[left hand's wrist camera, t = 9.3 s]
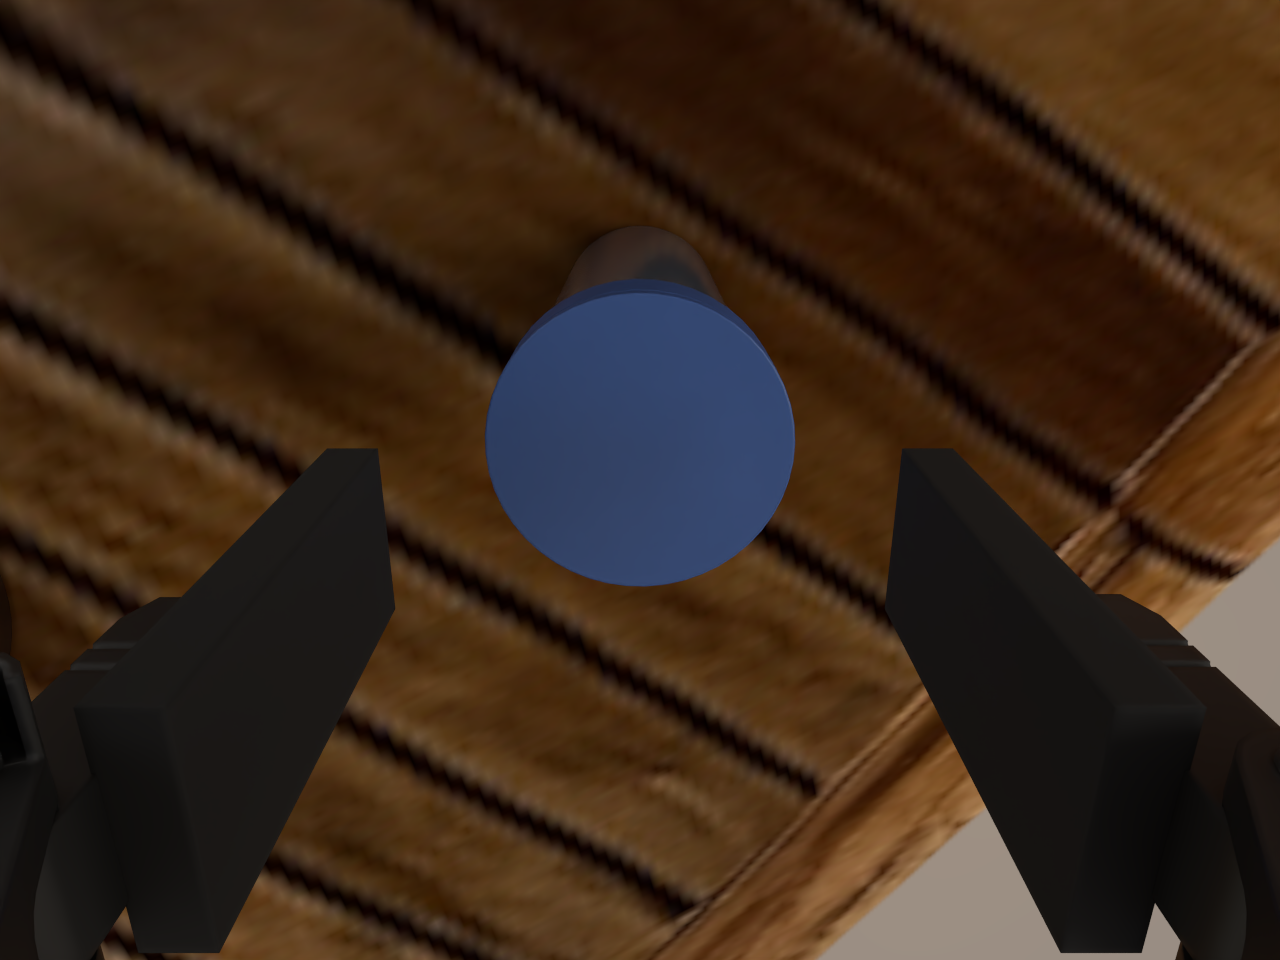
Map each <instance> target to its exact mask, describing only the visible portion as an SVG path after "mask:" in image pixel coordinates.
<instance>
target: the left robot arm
mask: <svg viewBox="0 0 1280 960" xmlns="http://www.w3.org/2000/svg"><path fill="white" fill-rule="evenodd" d="M394 610H395V602H394V593H393V584H392V575H391V566H390V557H389V548H388V539H387V529H386V520H385V511H384V502H383V493H382V484H381V475H380V466H379V457H378V449H326V450H325V451H324V452H323V453H322V454H321V455H320V456H319V458H318V459H317V460H316V461H315V462H314V463H313V464H312V465H311V466H310V467H309V468H308V469H307V470H306V471H305V472H304V473H303V474H302V475H301V476H300V477H299V478H298V479H297V480H296V481H295V482H294V483H293V484H292V485H291V486H290V487H289V488H288V489H287V490H286V491H285V492H284V493H283V494H282V495H281V496H280V497H279V498H278V499H277V500H276V501H275V502H274V503H273V504H272V505H271V506H270V507H269V509H268V510H267V511H266V512H265V513H264V514H263V515H262V516H261V517H260V518H259V519H258V520H257V521H256V522H255V523H254V524H253V525H252V526H251V527H250V528H249V529H248V530H247V531H246V532H245V533H244V534H243V535H242V536H241V537H240V538H239V539H238V540H237V541H236V542H235V543H234V544H233V545H232V546H231V547H230V548H229V549H228V550H227V551H226V552H225V553H224V554H223V555H222V556H221V557H220V558H219V560H218V561H217V562H216V563H215V564H214V565H213V566H212V567H211V568H210V569H209V570H208V571H207V572H206V573H205V574H204V575H203V576H202V577H201V578H200V579H199V580H198V581H197V582H196V583H195V584H194V585H193V586H192V587H191V588H190V589H189V590H188V591H187V592H186V593H185V594H184V595H183V596H182V597H159V598H158V599H156V600H154V601H152V602H150V603H148V604H146V605H145V606H143V607H141V608H139V609H137V610H135V611H133V612H132V613H130V614H128V615H126V616H124V617H122V618H120V619H119V620H118V621H117V622H116V623H115V624H114V625H113V626H112V627H111V628H110V629H108V630H107V631H106V632H105V633H104V634H103V635H102V636H101V637H100V638H99V639H98V640H97V641H96V642H95V643H94V644H93V649H87V650H86V651H85V652H84V653H83V654H82V655H81V656H80V657H79V658H78V659H77V660H75V661H74V662H73V663H72V664H71V669H70V670H65V671H64V672H63V673H62V674H61V675H60V676H58V677H57V678H56V679H55V680H54V681H53V682H52V683H51V684H50V685H49V686H48V687H47V688H46V689H45V690H44V691H43V692H41V693H40V694H39V695H38V696H37V697H36V698H35V699H34V700H33V701H32V702H31V699H30V696H29V692H28V689H27V685H26V682H25V678H24V675H23V671H22V668H21V664H20V661H18V660H16V659H15V658H13V657H11V656H10V650H11V638H12V626H11V614H10V608H9V602H8V598H7V594H6V590H5V587H4V584H3V581H2V578H1V576H0V960H105V959H104V956H103V952H102V949H101V945H100V944H101V943H102V941H103V940H104V938H105V937H106V935H107V934H108V932H109V931H110V929H111V928H112V926H113V925H114V923H115V922H116V920H117V919H118V917H119V916H120V914H121V913H122V911H123V910H124V908H125V907H126V908H127V912H128V916H129V919H130V923H131V927H132V931H133V934H134V938H135V942H136V946H137V949H138V953H219V952H220V950H221V949H222V947H223V945H224V943H225V941H226V939H227V937H228V935H229V933H230V931H231V929H232V927H233V925H234V923H235V921H236V919H237V917H238V915H239V913H240V911H241V909H242V907H243V905H244V904H245V902H246V900H247V898H248V896H249V894H250V892H251V890H252V888H253V886H254V884H255V882H256V880H257V878H258V876H259V874H260V872H261V870H262V868H263V866H264V864H265V862H266V860H267V859H268V857H269V855H270V853H271V851H272V849H273V847H274V845H275V843H276V841H277V839H278V837H279V835H280V833H281V831H282V829H283V827H284V825H285V823H286V821H287V819H288V817H289V815H290V813H291V812H292V810H293V808H294V806H295V804H296V802H297V800H298V798H299V796H300V794H301V792H302V790H303V788H304V786H305V784H306V782H307V780H308V778H309V776H310V774H311V772H312V770H313V768H314V767H315V765H316V763H317V761H318V759H319V757H320V755H321V753H322V751H323V749H324V747H325V745H326V743H327V741H328V739H329V737H330V735H331V733H332V731H333V729H334V727H335V725H336V723H337V722H338V720H339V718H340V716H341V714H342V712H343V710H344V708H345V706H346V704H347V702H348V700H349V698H350V696H351V694H352V692H353V690H354V688H355V686H356V684H357V682H358V680H359V678H360V677H361V675H362V673H363V671H364V669H365V667H366V665H367V663H368V661H369V659H370V657H371V655H372V653H373V651H374V649H375V647H376V645H377V643H378V641H379V639H380V637H381V635H382V633H383V632H384V630H385V628H386V626H387V624H388V622H389V620H390V618H391V616H392V614H393V612H394ZM885 610H886V612H887V614H888V616H889V618H890V620H891V622H892V624H893V626H894V628H895V630H896V632H897V633H898V635H899V637H900V639H901V641H902V643H903V645H904V647H905V649H906V651H907V653H908V655H909V657H910V659H911V661H912V663H913V665H914V667H915V669H916V671H917V673H918V675H919V677H920V678H921V680H922V682H923V684H924V686H925V688H926V690H927V692H928V694H929V696H930V698H931V700H932V702H933V704H934V706H935V708H936V710H937V712H938V714H939V716H940V718H941V720H942V722H943V723H944V725H945V727H946V729H947V731H948V733H949V735H950V737H951V739H952V741H953V743H954V745H955V747H956V749H957V751H958V753H959V755H960V757H961V759H962V761H963V763H964V765H965V767H966V768H967V770H968V772H969V774H970V776H971V778H972V780H973V782H974V784H975V786H976V788H977V790H978V792H979V794H980V796H981V798H982V800H983V802H984V804H985V806H986V808H987V810H988V812H989V813H990V815H991V817H992V819H993V821H994V823H995V825H996V827H997V829H998V831H999V833H1000V835H1001V837H1002V839H1003V841H1004V843H1005V845H1006V847H1007V849H1008V851H1009V853H1010V855H1011V857H1012V859H1013V860H1014V862H1015V864H1016V866H1017V868H1018V870H1019V872H1020V874H1021V876H1022V878H1023V880H1024V882H1025V884H1026V886H1027V888H1028V890H1029V892H1030V894H1031V896H1032V898H1033V900H1034V901H1035V904H1036V905H1037V907H1038V909H1039V911H1040V913H1041V915H1042V917H1043V919H1044V921H1045V923H1046V925H1047V927H1048V929H1049V931H1050V933H1051V935H1052V937H1053V939H1054V941H1055V943H1056V945H1057V947H1058V948H1059V950H1060V952H1061V953H1142V949H1143V946H1144V942H1145V938H1146V934H1147V930H1148V927H1149V923H1150V919H1151V916H1152V912H1153V908H1154V904H1155V903H1156V905H1157V906H1158V908H1159V909H1160V911H1161V912H1162V914H1163V915H1164V917H1165V918H1166V920H1167V921H1168V923H1169V924H1170V926H1171V927H1172V929H1173V930H1174V932H1175V933H1176V935H1177V936H1178V938H1179V939H1180V941H1181V942H1180V945H1179V949H1178V952H1177V956H1176V959H1175V960H1280V726H1279V725H1278V724H1277V723H1275V722H1274V721H1273V720H1272V719H1271V718H1270V717H1269V716H1268V715H1267V714H1266V713H1265V712H1264V711H1263V710H1261V709H1260V708H1259V707H1258V706H1257V705H1256V704H1255V703H1254V702H1253V701H1252V700H1251V699H1250V698H1249V697H1247V696H1246V695H1245V694H1244V693H1243V692H1242V691H1241V690H1240V689H1239V688H1238V687H1237V686H1236V685H1235V684H1234V683H1232V682H1231V681H1230V680H1229V679H1228V678H1227V677H1226V676H1225V675H1224V674H1223V673H1222V672H1221V671H1220V670H1219V669H1218V668H1216V667H1211V666H1210V661H1209V660H1208V659H1207V658H1206V657H1205V656H1204V655H1203V654H1201V653H1200V652H1199V651H1198V650H1197V649H1196V648H1195V647H1194V646H1188V641H1187V640H1186V639H1185V638H1184V637H1183V636H1182V635H1181V634H1180V633H1179V632H1178V631H1177V630H1176V629H1175V628H1174V627H1173V626H1171V625H1170V624H1169V623H1168V622H1167V621H1166V620H1165V619H1164V618H1163V617H1162V616H1161V615H1159V614H1157V613H1155V612H1153V611H1151V610H1149V609H1148V608H1146V607H1144V606H1142V605H1140V604H1138V603H1136V602H1134V601H1133V600H1131V599H1129V598H1127V597H1125V596H1123V595H1121V594H1095V593H1094V592H1093V591H1092V590H1091V589H1090V588H1089V587H1088V586H1087V585H1086V584H1085V583H1084V582H1083V581H1082V580H1081V579H1080V578H1079V577H1078V576H1077V575H1076V574H1075V573H1074V572H1073V571H1072V570H1071V569H1070V568H1069V567H1068V566H1067V565H1066V564H1065V563H1064V562H1063V561H1062V560H1061V558H1060V557H1059V556H1058V555H1057V554H1056V553H1055V552H1054V551H1053V550H1052V549H1051V548H1050V547H1049V546H1048V545H1047V544H1046V543H1045V542H1044V541H1043V540H1042V539H1041V538H1040V537H1039V536H1038V535H1037V534H1036V533H1035V532H1034V531H1033V530H1032V529H1031V528H1030V527H1029V526H1028V525H1027V524H1026V523H1025V522H1024V521H1023V520H1022V519H1021V518H1020V517H1019V516H1018V515H1017V514H1016V513H1015V512H1014V511H1013V510H1012V509H1011V507H1010V506H1009V505H1008V504H1007V503H1006V502H1005V501H1004V500H1003V499H1002V498H1001V497H1000V496H999V495H998V494H997V493H996V492H995V491H994V490H993V489H992V488H991V487H990V486H989V485H988V484H987V483H986V482H985V481H984V480H983V479H982V478H981V477H980V476H979V475H978V474H977V473H976V472H975V471H974V470H973V469H972V468H971V467H970V466H969V465H968V464H967V463H966V462H965V461H964V460H963V459H962V458H961V456H960V455H959V454H958V453H957V452H956V451H955V450H954V449H902V457H901V466H900V475H899V484H898V493H897V502H896V511H895V520H894V529H893V539H892V548H891V557H890V566H889V575H888V584H887V593H886V602H885Z"/></svg>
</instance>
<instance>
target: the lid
mask: <svg viewBox="0 0 1280 960" xmlns="http://www.w3.org/2000/svg"><path fill="white" fill-rule="evenodd" d="M485 448H486V458H487V464H488V470H489V474H490V477H491V480H492V484H493V487H494V490H495V492H496V494H497V496H498V499H499V501H500V503H501V505H502V507H503V509H504V510H505V512H506V513H507V515H508V517H509V518H510V520H511V521H512V523H513V524H514V525H515V527H516V528H517V529H518V530H519V531H520V532H521V534H522V535H523V536H524V537H525V538H526V539H527V540H528V541H529V542H530V543H531V544H532V545H533V546H534V547H535V548H537V549H538V550H539V551H540V552H541V553H543V554H544V555H546V556H547V557H548V558H550V559H551V560H553V561H554V562H556V563H557V564H559V565H561V566H563V567H565V568H567V569H568V570H570V571H572V572H575V573H577V574H580V575H582V576H585V577H587V578H590V579H594V580H598V581H602V582H605V583H610V584H617V585H624V586H654V585H664V584H669V583H674V582H679V581H683V580H686V579H689V578H692V577H695V576H698V575H701V574H703V573H705V572H707V571H709V570H711V569H714V568H716V567H718V566H719V565H721V564H723V563H724V562H726V561H727V560H729V559H730V558H732V557H734V556H735V555H736V554H737V553H738V552H740V551H741V550H742V549H743V548H745V547H746V546H747V545H748V544H749V543H750V542H751V541H752V540H753V539H754V538H755V537H756V536H757V535H758V534H759V533H760V532H761V531H762V529H763V528H764V527H765V525H766V524H767V522H768V521H769V520H770V518H771V517H772V516H773V514H774V512H775V510H776V508H777V507H778V505H779V503H780V501H781V499H782V497H783V494H784V492H785V489H786V487H787V484H788V481H789V478H790V474H791V469H792V465H793V459H794V449H795V431H794V420H793V414H792V409H791V404H790V401H789V398H788V395H787V392H786V389H785V386H784V384H783V382H782V380H781V378H780V376H779V374H778V372H777V370H776V368H775V366H774V364H773V363H772V361H771V359H770V357H769V356H768V354H767V352H766V350H765V349H764V347H763V346H762V344H761V343H760V341H759V340H758V338H757V337H756V335H755V334H754V333H753V332H752V330H751V329H750V328H749V327H748V326H747V325H746V324H745V323H744V322H743V320H742V319H741V318H739V317H738V316H737V315H736V314H735V313H733V312H732V311H731V310H730V309H729V308H727V307H726V306H724V305H723V304H721V303H720V302H718V301H717V300H715V299H713V298H712V297H710V296H708V295H706V294H704V293H701V292H699V291H697V290H695V289H693V288H689V287H686V286H683V285H680V284H676V283H672V282H666V281H660V280H653V279H629V280H620V281H613V282H609V283H604V284H600V285H596V286H593V287H591V288H588V289H586V290H583V291H580V292H578V293H576V294H574V295H572V296H570V297H569V298H567V299H565V300H563V301H561V302H560V303H558V304H557V305H556V306H554V307H553V308H552V309H550V310H549V311H548V312H546V313H545V314H544V315H543V316H542V317H541V318H540V319H539V320H538V321H537V322H536V323H535V324H534V325H533V326H532V327H531V328H530V329H529V331H528V332H527V333H526V334H525V336H524V337H523V338H522V340H521V341H520V342H519V344H518V346H517V347H516V349H515V351H514V353H513V354H512V356H511V358H510V360H509V361H508V363H507V365H506V367H505V368H504V370H503V372H502V374H501V376H500V377H499V380H498V382H497V384H496V387H495V389H494V392H493V394H492V397H491V401H490V405H489V409H488V413H487V421H486V430H485Z"/></svg>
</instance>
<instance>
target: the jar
mask: <svg viewBox="0 0 1280 960" xmlns="http://www.w3.org/2000/svg"><path fill="white" fill-rule="evenodd" d="M629 279H653V280H660V281H666V282H672V283H676V284H680V285H683V286H686V287H689V288H693V289H695V290H697V291H699V292H701V293H704V294H706V295H708V296H710V297H712V298H713V299H715V300H717V301H718V302H720V303H721V304H723V305H724V306H726V305H725V303H724V301H723V299H722V297H721V295H720V293H719V291H718V289H717V287H716V284H715V282H714V280H713V278H712V276H711V274H710V272H709V270H708V268H707V266H706V264H705V262H704V261H703V259H702V258H701V257H700V255H699V254H698V253H697V252H696V251H695V249H694V248H693V247H692V246H691V245H689V244H688V243H687V242H686V241H685V240H683V239H681V238H680V237H678V236H677V235H675V234H673V233H671V232H668V231H666V230H663V229H659V228H655V227H649V226H632V227H625V228H621V229H617V230H614V231H612V232H609V233H607V234H605V235H604V236H602V237H600V238H598V239H597V240H596V241H594V242H593V243H592V244H590V245H589V246H588V247H587V248H586V249H585V250H584V251H583V253H582V254H581V255H580V257H579V258H578V259H577V261H576V263H575V264H574V266H573V268H572V270H571V272H570V274H569V276H568V278H567V280H566V282H565V284H564V286H563V288H562V290H561V292H560V294H559V297H558V299H557V301H556V303H555V305H554V306H556V305H557V304H558V303H560V302H561V301H563V300H565V299H567V298H569V297H570V296H572V295H574V294H576V293H578V292H580V291H583V290H586V289H588V288H591V287H593V286H596V285H600V284H604V283H609V282H613V281H620V280H629Z"/></svg>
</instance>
